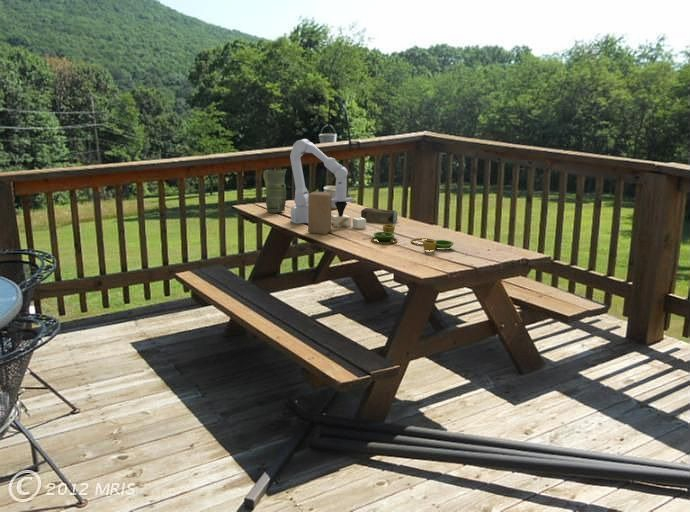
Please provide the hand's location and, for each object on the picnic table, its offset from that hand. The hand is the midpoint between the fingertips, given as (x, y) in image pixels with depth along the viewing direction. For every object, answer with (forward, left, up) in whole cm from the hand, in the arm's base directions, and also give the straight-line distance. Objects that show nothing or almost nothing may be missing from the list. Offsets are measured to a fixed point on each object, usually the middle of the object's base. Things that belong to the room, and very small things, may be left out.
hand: (340, 215), depth 354 cm
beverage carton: (+24, +1, -5) cm, 25 cm away
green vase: (-19, +46, -5) cm, 50 cm away
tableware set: (+11, -50, -6) cm, 51 cm away
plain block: (0, -1, -5) cm, 5 cm away
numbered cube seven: (+6, -10, -5) cm, 13 cm away
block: (-18, -12, -5) cm, 22 cm away
